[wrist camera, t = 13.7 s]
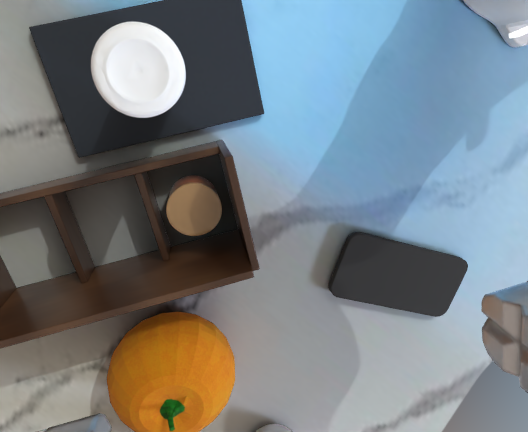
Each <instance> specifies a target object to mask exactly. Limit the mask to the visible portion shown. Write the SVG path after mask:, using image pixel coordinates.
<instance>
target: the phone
mask: <svg viewBox="0 0 528 432" xmlns="http://www.w3.org/2000/svg"><path fill="white" fill-rule="evenodd" d="M467 268H468V264H467V262H466V261H465V260H463V259H462V258H460V257H457V256H453V255H449V254H445V253H441V252H437V251H433V250H429V249H425V248H421V247H417V246H413V245H410V244H406V243H402V242H398V241H394V240H390V239H386V238H382V237H378V236H374V235H370V234H366V233H362V232H355V233H352V234H351V235H350V236H349V237H348V238H347V240H346V242H345V244H344V247H343V249H342V252H341V254H340V257H339V260H338V262H337V265H336V267H335V270H334V272H333V275H332V277H331V280H330V283H329V290H330V291H331V293H332V294H333V295H334V296H336V297H339V298H344V299H349V300H354V301H359V302H364V303H369V304H374V305H380V306H385V307H390V308H395V309H400V310H405V311H410V312H415V313H420V314H425V315H430V316H441V315H443V314H444V313H445V312H446V311H447V310H448V308H449V306H450V304H451V302H452V300H453V298H454V296H455V294H456V292H457V290H458V288H459V286H460V284H461V282H462V280H463V278H464V275H465V273H466V271H467Z"/></svg>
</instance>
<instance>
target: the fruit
mask: <svg viewBox="0 0 528 432" xmlns="http://www.w3.org/2000/svg"><path fill="white" fill-rule="evenodd" d="M234 381H235V364H234V355H233V352H232V350H231V348H230V345H229V343H228V341H227V339H226V337H225V336H224V334H223V333H222V332H221V331H220V330H219V329H218V328H217V327H216V326H215V325H214V324H213V323H211V322H210V321H208V320H206V319H204V318H202V317H200V316H198V315H196V314H190V313H184V312H170V313H161V314H158V315H156V316H153V317H150V318H148V319H145V320H143V321H142V322H140V323H139V324H138V325H136V326H135V327H134V328H132V329H131V330H130V331H128V332H127V333H126V335H125V336H124V337H123V339H122V340H121V342H120V343H119V345H118V346H117V347H116V349H115V350H114V352H113V355H112V358H111V362H110V366H109V370H108V374H107V385H108V391H109V397H110V403H111V405H112V407H113V408H114V410H115V411H116V413H117V415H118V416H119V418H120V419H121V421H122V422H123V423H124V424H126V425H127V426H128V427H129V428H131V429H132V430H133V431H135V432H199V431H200V430H202V429H203V428H204V427H206V426H207V425H209V424H210V423H211V422H213V421H214V419H215V418H216V417H217V416H218V415H219V413H220V412H221V411H222V410H223V408H224V407H225V406H226V404H227V402H228V400H229V397H230V394H231V392H232V389H233V386H234Z"/></svg>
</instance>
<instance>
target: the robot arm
mask: <svg viewBox="0 0 528 432" xmlns="http://www.w3.org/2000/svg"><path fill="white" fill-rule="evenodd" d="M463 1H464V2H465V3H466V5H467V6H468V7H469V8H470V9H472V10H473V11H474V12H475V13H477V14H478V15H480V16H481V17H483V18H485V19H487V20H488V21H490V22H491V23H493V24H494V25H495V26H496V27H497V29H498V31H499V33H500V34H501V36H502V37H503V39H504V40H505V42H506V43H507V44H508V45H509V46H511V47H514V48H516V47H521V46H525V45H528V0H463ZM482 312H483V313H484V314H485V315H486V316H487V317H488V319H487V321H486V322H485V324H484V326H483V327H482V339H483V343H484V346H485V348H486V350H487V353H488V354H489V356H490V357H491V359H492V360H493V361H494V363H495V364H497V365H498V366H499V367H500V368H501V369H502V370H503V371H505V372H507V373H510V374H513V375H516V376H518V377H519V381H520V386H521V387H522V388H523V389H524V390H525V391H526V392H527V393H528V281H527V282H524V283H521V284H518V285H515V286H511V287H508V288H505V289H502V290H499V291H496V292H492V293H489V294H486V295H485V296H484V298H483V300H482ZM111 428H112V427H111V425H110V423H109V421H108V419H107V417H106V415H104V414H100V413H99V414H96V415H92V416H89V417H85V418H82V419H78V420H74V421H71V422H67V423H64V424H60V425H57V426H53V427H50V428H48V429H45V430H41V431H37V432H111Z"/></svg>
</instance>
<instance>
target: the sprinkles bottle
mask: <svg viewBox="0 0 528 432" xmlns="http://www.w3.org/2000/svg"><path fill="white" fill-rule="evenodd" d="M91 73H92V77H93V81H94V83H95V86H96V88H97V90H98V92H99V93H100V95H101V96H102V98H103V99H104V100H105V101H106V102H107V103H108V104H109V105H110V106H112V107H113V108H114V109H116V110H117V111H119V112H121V113H123V114H125V115H128V116H132V117H137V118H148V117H154V116H157V115H160V114H162V113H164V112H166V111H167V110H169V109H170V108H171V107H172V106H173V105H174V104H175V103H176V102H177V101H178V99H179V98H180V96H181V94H182V92H183V89H184V86H185V80H186V70H185V64H184V60H183V57H182V55H181V53H180V51H179V49H178V47H177V46H176V44H175V43H174V42H173V41H172V39H171V38H170V37H169V36H168V35H166V34H165V33H164V32H163V31H161V30H160V29H158V28H156V27H154V26H152V25H150V24H146V23H142V22H124V23H120V24H118V25H115V26H113V27H111V28H110V29H108V30H107V31H106V32H105V33H103V34H102V36H101V37H100V38H99V39H98V41H97V42H96V44H95V47H94V49H93V52H92V57H91Z"/></svg>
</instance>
